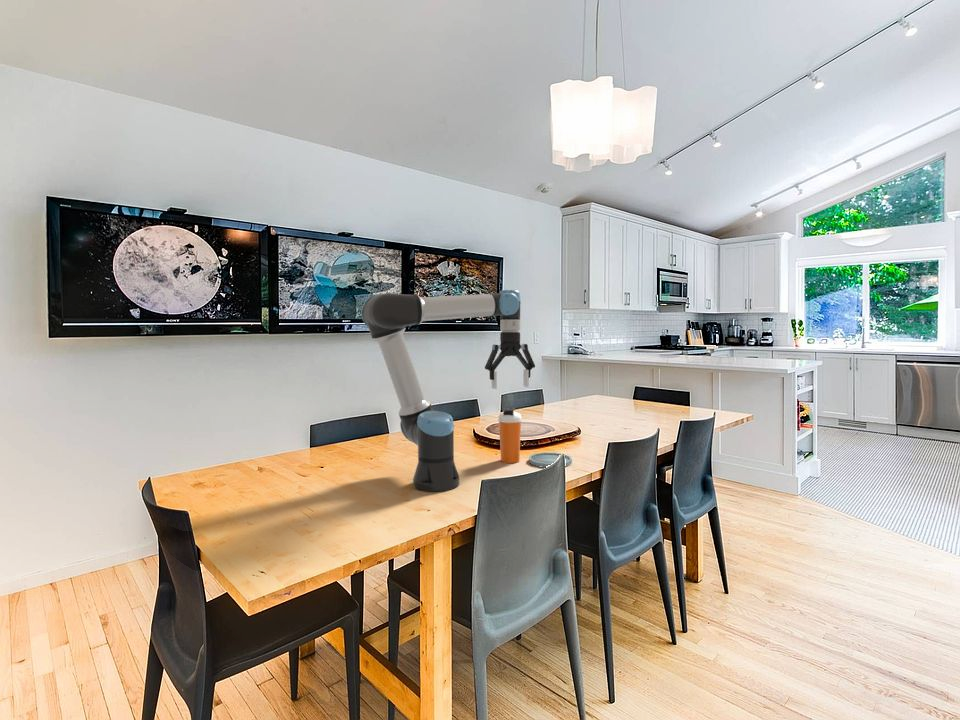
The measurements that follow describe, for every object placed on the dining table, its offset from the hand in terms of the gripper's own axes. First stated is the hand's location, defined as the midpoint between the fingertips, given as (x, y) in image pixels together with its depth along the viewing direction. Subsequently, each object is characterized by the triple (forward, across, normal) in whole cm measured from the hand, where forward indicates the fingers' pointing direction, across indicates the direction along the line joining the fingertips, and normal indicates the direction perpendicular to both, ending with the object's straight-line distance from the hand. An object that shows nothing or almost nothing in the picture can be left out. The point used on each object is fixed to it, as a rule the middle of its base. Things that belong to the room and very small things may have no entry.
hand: (510, 387), depth 194 cm
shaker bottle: (+28, 0, 0) cm, 29 cm away
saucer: (+28, +13, -8) cm, 32 cm away
